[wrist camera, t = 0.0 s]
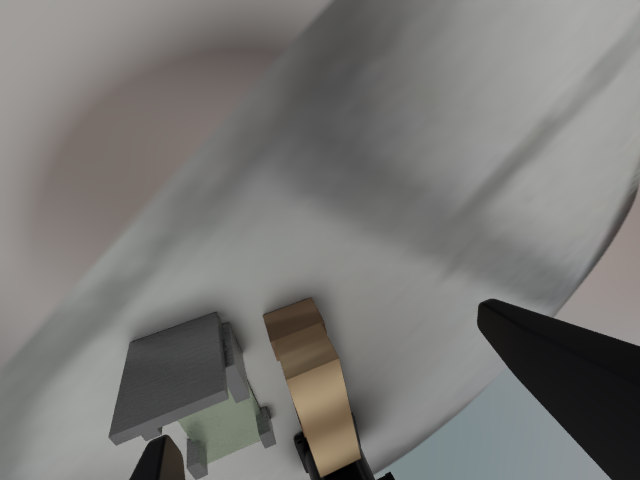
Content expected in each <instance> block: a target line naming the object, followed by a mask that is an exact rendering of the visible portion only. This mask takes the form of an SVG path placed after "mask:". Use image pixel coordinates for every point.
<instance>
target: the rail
mask: <svg viewBox="0 0 640 480" xmlns="http://www.w3.org/2000/svg"><path fill="white" fill-rule="evenodd" d="M274 343H275V346H276V349H277V353H278V356H279V359H280V362H281V366H282V369H283V372H284V376H285V379H286V382H287V385H288V388H289V390H290V393H291V396H292V399H293V401H294V404H295V407H296V410H297V413H298V415H299V418H300V421H301V424H302V427H303V429H304V432H305V435H306V438H307V441H308V443H309V446H310V449H311V452H312V455H313V457H314V460H315V463H316V466H317V468H318V471H319V474H320V477H323V476H326V475H328V474H330V473H332V472H334V471H336V470H338V469H340V468H342V467H344V466H346V465H348V464H350V463H352V462H354V461H356V460H358V459H360V458H361V455H360V451H359V446H358V442H357V437H356V433H355V428H354V424H353V419H352V415H351V410H350V406H349V401H348V397H347V392H346V388H345V383H344V379H343V374H342V370H341V365H340V361H339V357H338V355H337V353H336V352H335V350H334V348H333V346H332V344H331V342H330V340H329V338H328V336H327V334H326V332H325V330H324V328H323V326H322V324H321V323H319V324H316V325H314V326H311V327H308V328H306V329H303V330H301V331H298V332H296V333H293V334H290V335H288V336H285V337H283V338H280V339H278V340H275V341H274Z"/></svg>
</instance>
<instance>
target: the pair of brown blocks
mask: <svg viewBox="0 0 640 480" xmlns="http://www.w3.org/2000/svg"><path fill="white" fill-rule="evenodd" d="M263 318H264V322H265V325H266V328H267V332H268V335H269V339H270V342H271V345H272V348H273V351H274V353H275V356H276V359H277V361H280V359H279V356H278V353H277V349H276V346H275V343H274V341H275V340H278V339H280V338H283V337H285V336H288V335H290V334H293V333H296V332H298V331H301V330H303V329H306V328H308V327H311V326H314V325H316V324H319V323H321V324H322V326H323V328H324V330H325V332H326V328H325V323H324V320H323V319H322V317H321V315H320V313H319V311H318V309H317V307H316V305H315V303H314V301H313V300H312V298H308V299H306V300H303V301H300V302H298V303H295V304H292V305H289V306H287V307H284V308H281V309H279V310H276V311H273V312H271V313H268V314H265V315H263ZM326 334H327V332H326ZM293 402H294V401H293ZM294 406H295V404H294ZM295 409H296V407H295ZM296 412H297V410H296ZM297 415H298V413H297ZM298 419H299V422H300V425H301V428H302V431H303V433H304V436H305V438H306V435H305V432H304V429H303V427H302V424H301V421H300V418H299V415H298Z"/></svg>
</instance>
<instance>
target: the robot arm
mask: <svg viewBox="0 0 640 480" xmlns="http://www.w3.org/2000/svg"><path fill="white" fill-rule="evenodd" d="M477 325H478V328H479V330H480V331H481V333H482V334H483V335H484V336H485V338H486V339H487V340H488V342H489V343H490V344H491V346H492V347H493V348H494V349H495V351H496V352H497V353H498V355H499V356H500V357H501V359H502V360H503V361H504V362H505V364H506V365H507V366H508V368H509V369H510V370H511V371H512V373H513V374H514V375H515V376H516V377H517V378H518V379H519V381H521V383H522V384H523V385H524V386H525V387H526V388H527V389H528V390H529V391H530V392H531V393H532V395H533V396H534V397H535V398H536V399H537V400H538V401H539V402H540V403H541V404H542V405H543V406H544V407H545V409H546V410H547V411H548V412H549V413H550V414H551V415H552V416H553V417H554V418H555V419H556V420H557V421H558V423H559V424H560V425H561V426H562V427H563V428H564V429H565V430H566V431H567V432H568V433H569V434H570V435H571V436H572V438H573V439H574V440H575V441H576V442H577V443H578V444H579V445H580V446H581V447H582V448H583V449H584V450H585V452H586V453H587V454H588V455H589V456H590V457H591V458H592V459H593V460H594V461H595V462H596V463H597V464H598V465H599V467H600V468H601V469H602V470H603V471H604V472H605V473H606V474H607V475H608V476H609V477H610V478H611V479H612V480H640V346H637V345H634V344H631V343H628V342H625V341H621V340H619V339H616V338H613V337H610V336H607V335H604V334H601V333H597V332H594V331H591V330H588V329H585V328H582V327H579V326H576V325H573V324H570V323H567V322H564V321H561V320H558V319H555V318H552V317H549V316H545V315H542V314H539V313H536V312H533V311H530V310H527V309H524V308H521V307H518V306H515V305H512V304H509V303H506V302H503V301H500V300H497V299H488V300H486V301H483V302H481V303H480V304H479V306H478V316H477ZM351 415H352V419H353V424H354V428H355V433H356V437H357V442H358V446H359V451H360V455H361V458H360V459H358V460H356V461H354V462H352V463H350V464H348V465H346V466H344V467H342V468H340V469H338V470H336V471H334V472H332V473H330V474H328V475H326V476H323V477H320V474H319V471H318V468H317V466H316V463H315V460H314V457H313V455H312V452H311V449H310V446H309V443H308V441H307V438H305V436H304V433H302V434H300V435H298V436H296V437H295V438H294V443H295V446H296V449H297V451H298V454H299V456H300V459H301V461H302V464H303V466H304V469H305V471H306V473H309V475H310V479H311V480H375V478H374V476H373V474H372V471H371V469H370V467H369V465H368V463H367V460H366V458H365V456H364V454H363V451H362V449H361V444H360V440H359V435H358V431H357V426H356V421H355V417H354V415H353V413H352V412H351ZM129 480H185V473H184V463H183V457H182V454H181V451H180V450H179V449H178V447H177V446H176V444H175V443H174V442H173V440H172V439H171V438H170V436H169V435H163V436H161V437H158V438H156V439H153V440H152V441H150V442H149V443H148V445H147V446H146V448H145V450H144V452H143V454H142V456H141V458H140V460H139V462H138V464H137V466H136V468H135V470H134V472H133V474H132V476H131V478H130V479H129ZM377 480H395V479H394V477H393V475H392V474H391V472H389V473H387V474H385V476H383V477H381V478H379V479H377Z"/></svg>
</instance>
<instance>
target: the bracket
mask: <svg viewBox="0 0 640 480" xmlns="http://www.w3.org/2000/svg"><path fill="white" fill-rule="evenodd" d="M177 420H178V422H179V423H180V425H181V426H182V428H183V429H184V431H185V432H186V433H187V435H188V436H189V438H190V439H188V440H187V469H188V470H189V472H190V473H191V474H192V476H193V477H194V478H195V480H197V479H199V478H202V477H204V476H206V475H208V469H207V464H208V463H210V462H213V461H215V460H217V459H219V458H222V457H224V456H226V455H228V454H231V453H233V452H235V451H237V450H240V449H242V448H244V447H246V446H248V445H251V444H253V443H255V442H257V441H260V440H261V441H262V443H263V445H264V447H265V449H266V448H268V447H270V446H272V445H274V444H276V440H275V436H274V432H273V427H272V423H271V419H270V417H269V414H268V412H267V410H266V407H263V408H261V409H260V408H259V406H258V404H257V401H256V399H255V397H254V395H253V393H252V390H251V388H250V386H249V384H248V381H247V377H246V371H245V366H244V360H243V355H242V352H241V350H240V347H239V345H238V343H237V340H236V338H235V336H234V334H233V331H232V329H231V327H230V324H229V322H228V323H226V324H223V325H222V324H221V321H220V319H219V317H218V315H217V312H215V313H212V314H209V315H206V316H203V317H201V318H198V319H195V320H192V321H189V322H187V323H184V324H181V325H178V326H175V327H173V328H170V329H167V330H164V331H161V332H159V333H156V334H153V335H150V336H147V337H145V338H142V339H139V340H136V341H133V342H131V343H130V344H129V349H128V353H127V357H126V362H125V366H124V371H123V375H122V379H121V384H120V388H119V393H118V397H117V402H116V406H115V410H114V415H113V419H112V424H111V428H110V433H109V438H110V439H111V441H112V442H113V443H114V444H115V445H119V444H121V443H123V442H126V441H128V440H131V439H133V438H136V437H138V436H140V435H141V436H142V437H143V438H144V440H145V441H148V440H150V439H152V438H155V437H157V436H160V435H162V426H165V425H167V424H169V423H172V422H174V421H177Z"/></svg>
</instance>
